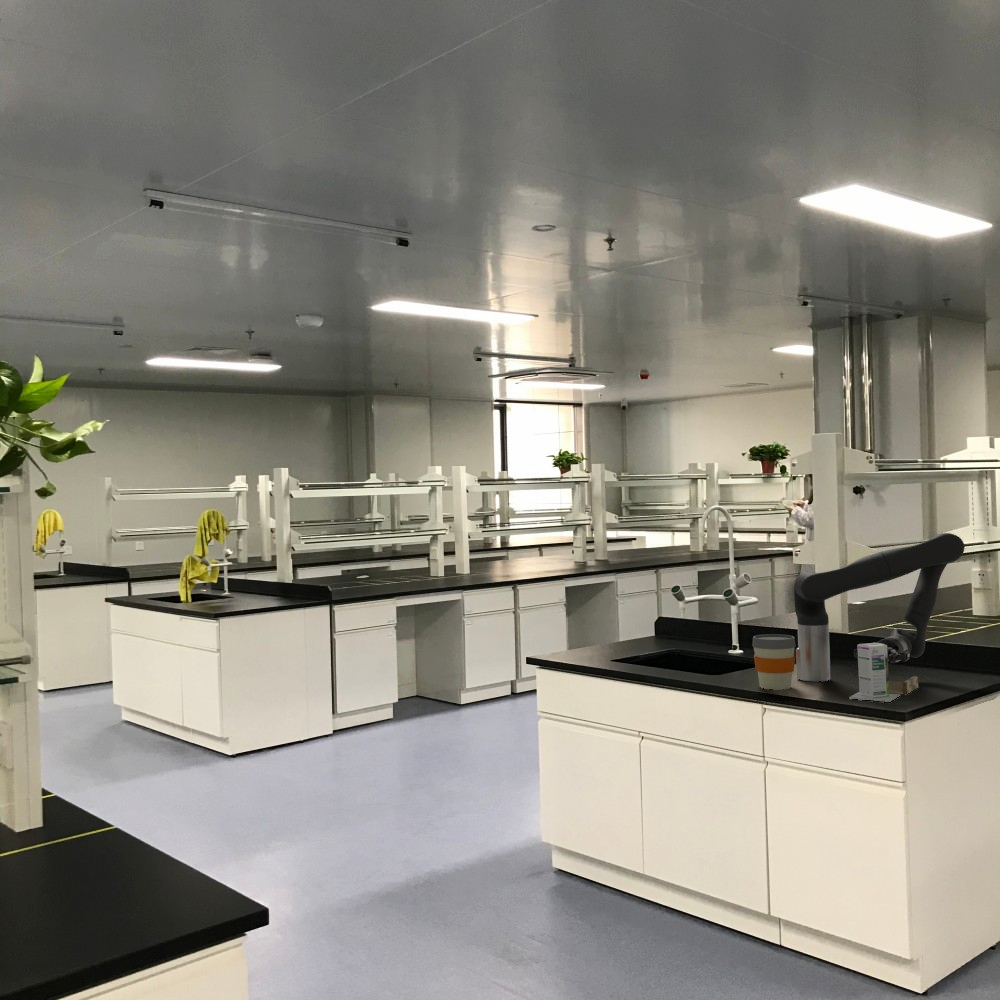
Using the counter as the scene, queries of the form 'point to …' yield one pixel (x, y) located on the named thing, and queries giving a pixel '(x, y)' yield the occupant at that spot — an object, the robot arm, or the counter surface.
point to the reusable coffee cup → (774, 660)
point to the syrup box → (873, 670)
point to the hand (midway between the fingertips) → (874, 657)
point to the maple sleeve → (903, 686)
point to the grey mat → (886, 699)
